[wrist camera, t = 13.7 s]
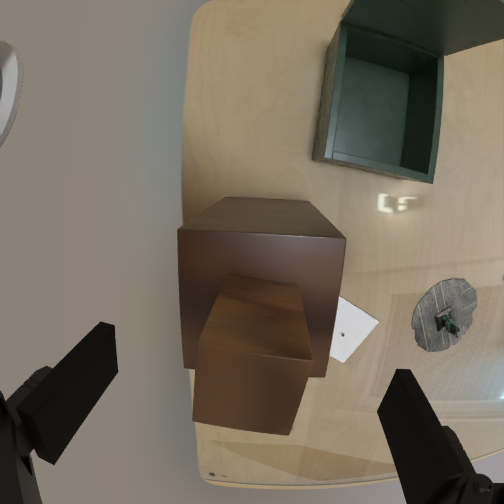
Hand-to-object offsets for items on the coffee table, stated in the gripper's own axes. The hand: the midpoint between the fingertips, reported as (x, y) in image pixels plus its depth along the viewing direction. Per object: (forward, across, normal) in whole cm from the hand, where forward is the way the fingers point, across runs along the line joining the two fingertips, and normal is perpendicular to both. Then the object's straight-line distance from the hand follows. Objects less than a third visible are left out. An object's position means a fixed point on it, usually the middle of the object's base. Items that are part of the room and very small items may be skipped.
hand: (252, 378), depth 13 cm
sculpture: (+27, +28, -7) cm, 40 cm away
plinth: (+27, 0, 0) cm, 27 cm away
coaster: (+27, +12, -11) cm, 31 cm away
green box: (+27, +10, +18) cm, 33 cm away
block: (+7, 0, 0) cm, 7 cm away
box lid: (+10, +10, +24) cm, 27 cm away
